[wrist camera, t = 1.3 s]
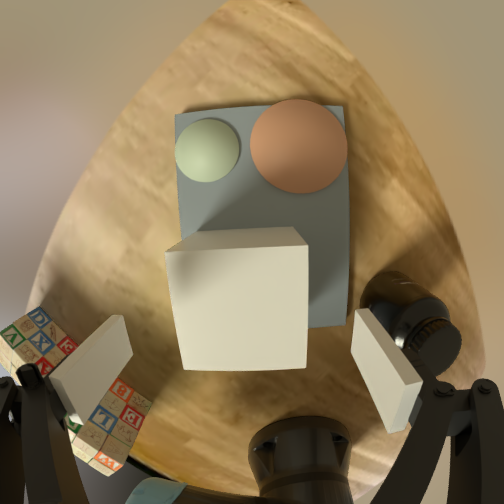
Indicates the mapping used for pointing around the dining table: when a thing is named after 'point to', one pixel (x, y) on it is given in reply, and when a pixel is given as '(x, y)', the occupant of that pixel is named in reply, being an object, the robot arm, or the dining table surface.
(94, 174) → the dining table surface
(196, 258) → the plain off-white box
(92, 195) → the dining table surface
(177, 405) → the dining table surface
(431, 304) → the supplement bottle
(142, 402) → the stack of blocks
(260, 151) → the board
